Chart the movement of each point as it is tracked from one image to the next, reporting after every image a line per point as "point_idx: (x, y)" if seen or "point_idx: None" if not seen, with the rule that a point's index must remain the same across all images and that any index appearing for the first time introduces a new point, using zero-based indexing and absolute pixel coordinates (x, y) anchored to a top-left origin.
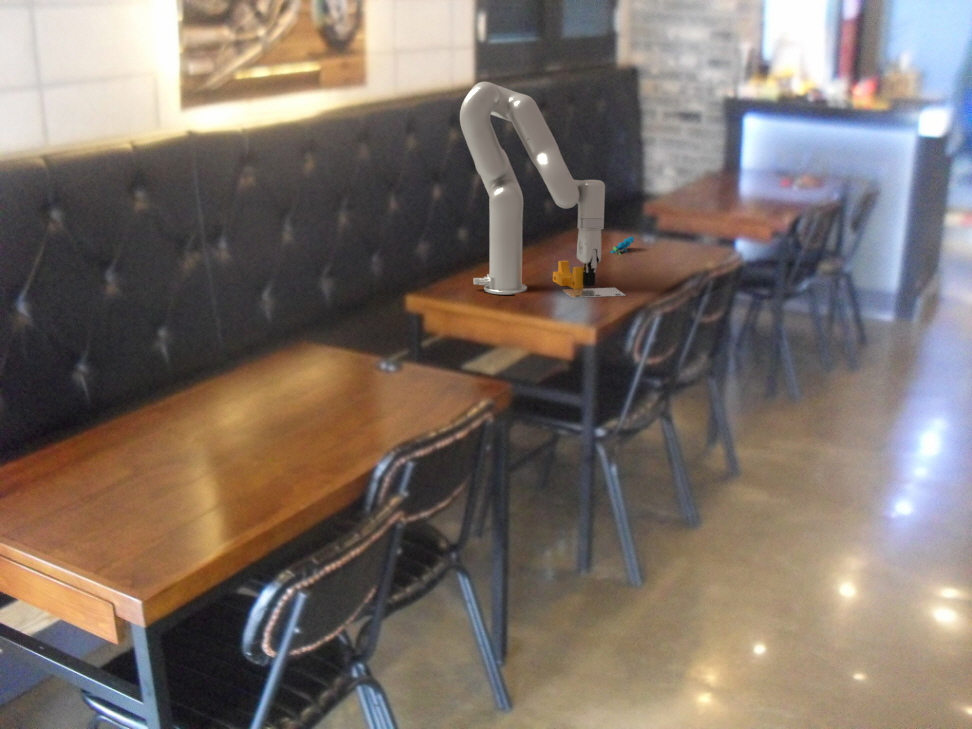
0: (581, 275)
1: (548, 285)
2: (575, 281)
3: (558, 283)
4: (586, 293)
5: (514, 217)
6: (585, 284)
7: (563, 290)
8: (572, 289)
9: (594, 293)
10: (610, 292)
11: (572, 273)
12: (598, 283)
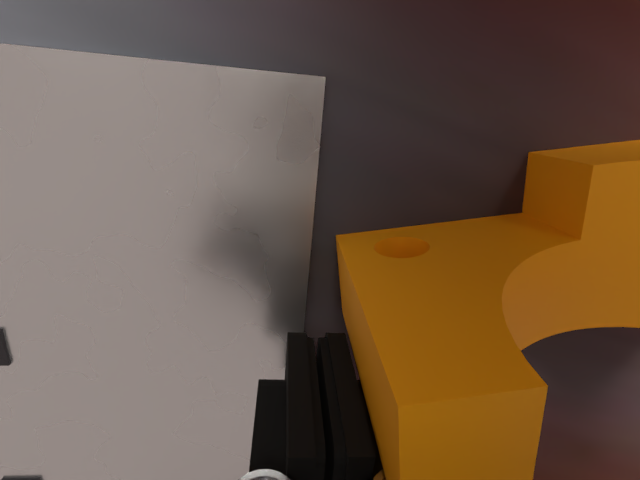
0: (369, 390)
1: (630, 2)
2: (350, 270)
3: (620, 144)
4: (81, 272)
5: None
6: (287, 348)
7: (277, 72)
8: (303, 195)
9: (76, 341)
10: (111, 462)
11: (484, 303)
12: None
